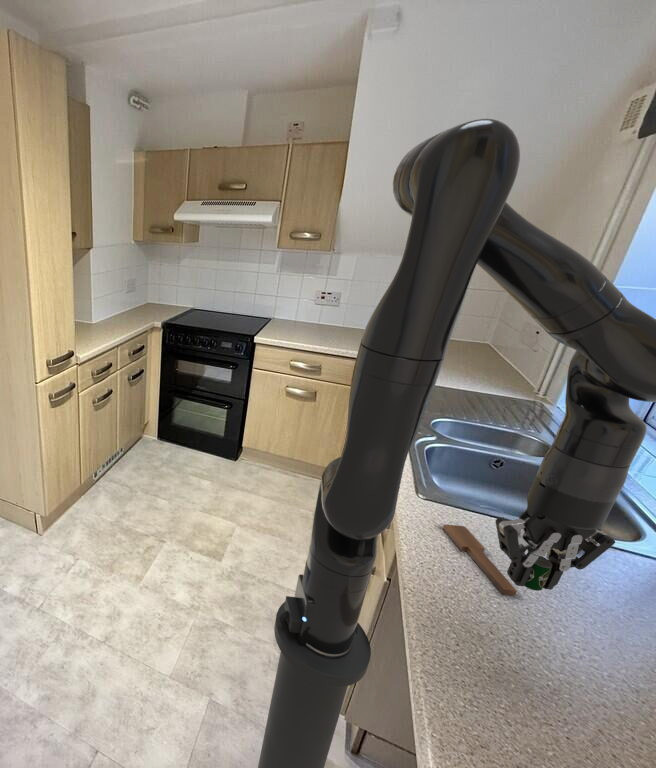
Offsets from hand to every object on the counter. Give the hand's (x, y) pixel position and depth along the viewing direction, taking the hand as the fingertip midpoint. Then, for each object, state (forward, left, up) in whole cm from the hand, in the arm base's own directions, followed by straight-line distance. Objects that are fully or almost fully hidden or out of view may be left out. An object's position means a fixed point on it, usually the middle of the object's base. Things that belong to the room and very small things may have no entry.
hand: (529, 582), depth 60 cm
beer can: (0, 0, 0) cm, 0 cm away
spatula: (+10, +22, -15) cm, 29 cm away
